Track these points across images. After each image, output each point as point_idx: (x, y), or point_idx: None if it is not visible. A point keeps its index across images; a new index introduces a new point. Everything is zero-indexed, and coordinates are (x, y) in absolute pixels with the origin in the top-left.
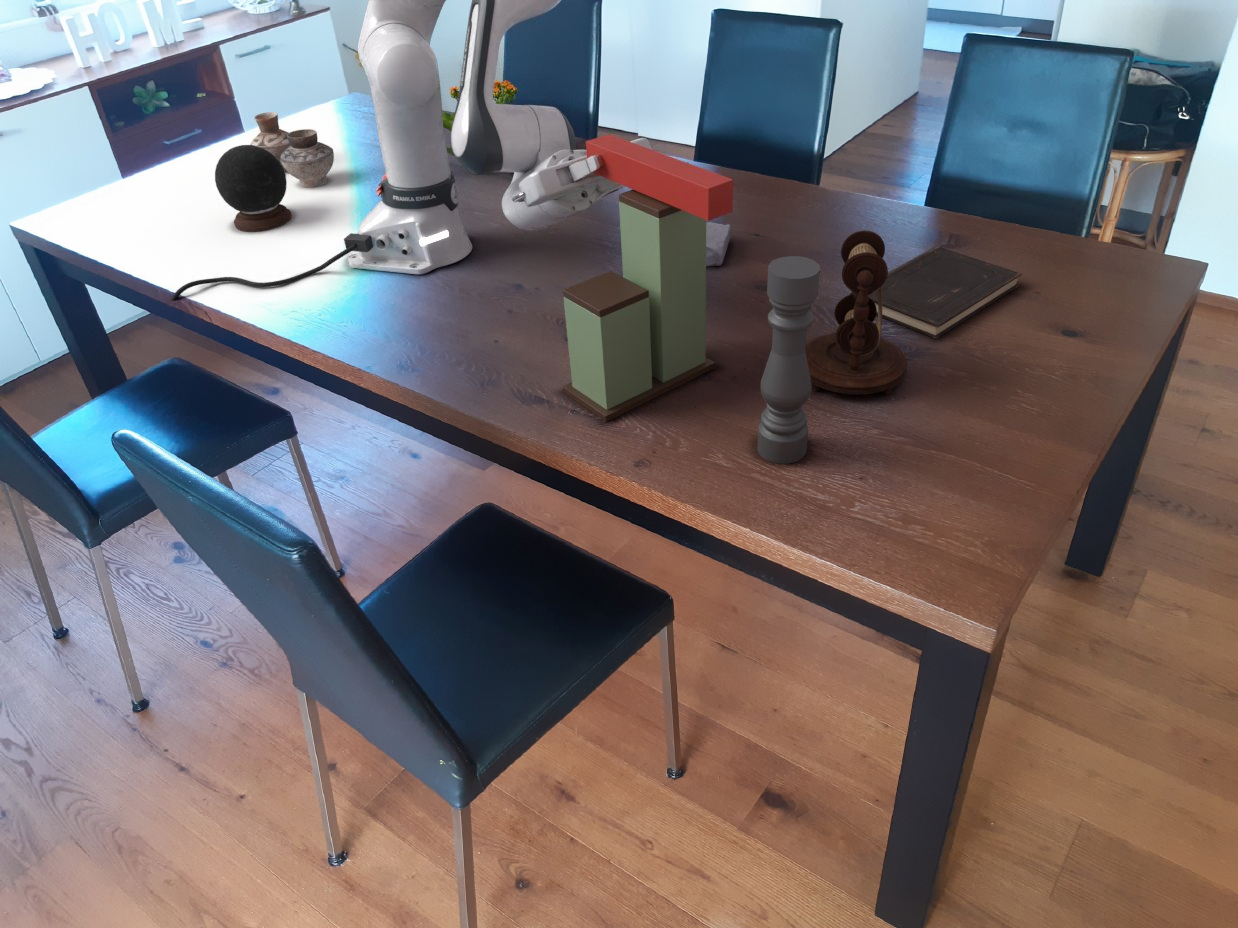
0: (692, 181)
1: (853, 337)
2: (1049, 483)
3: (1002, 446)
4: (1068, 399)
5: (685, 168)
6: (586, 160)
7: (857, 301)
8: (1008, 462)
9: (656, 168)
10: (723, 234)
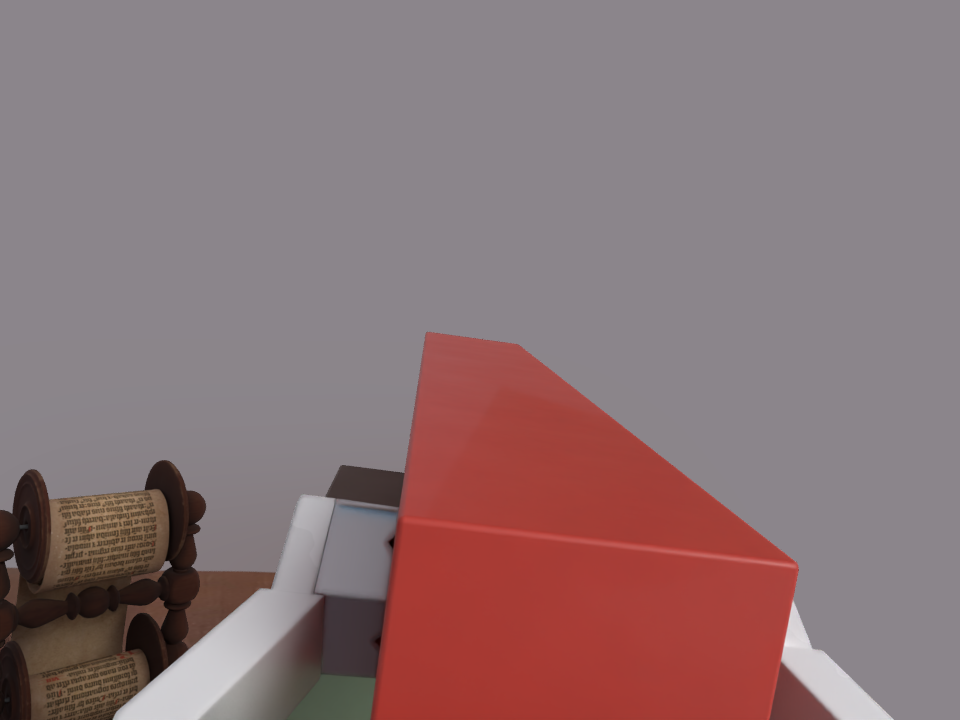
0: (523, 350)
1: (178, 648)
2: (245, 582)
3: (195, 616)
4: (15, 597)
5: (470, 352)
6: (807, 652)
7: (193, 560)
8: (229, 607)
9: (554, 373)
10: None
